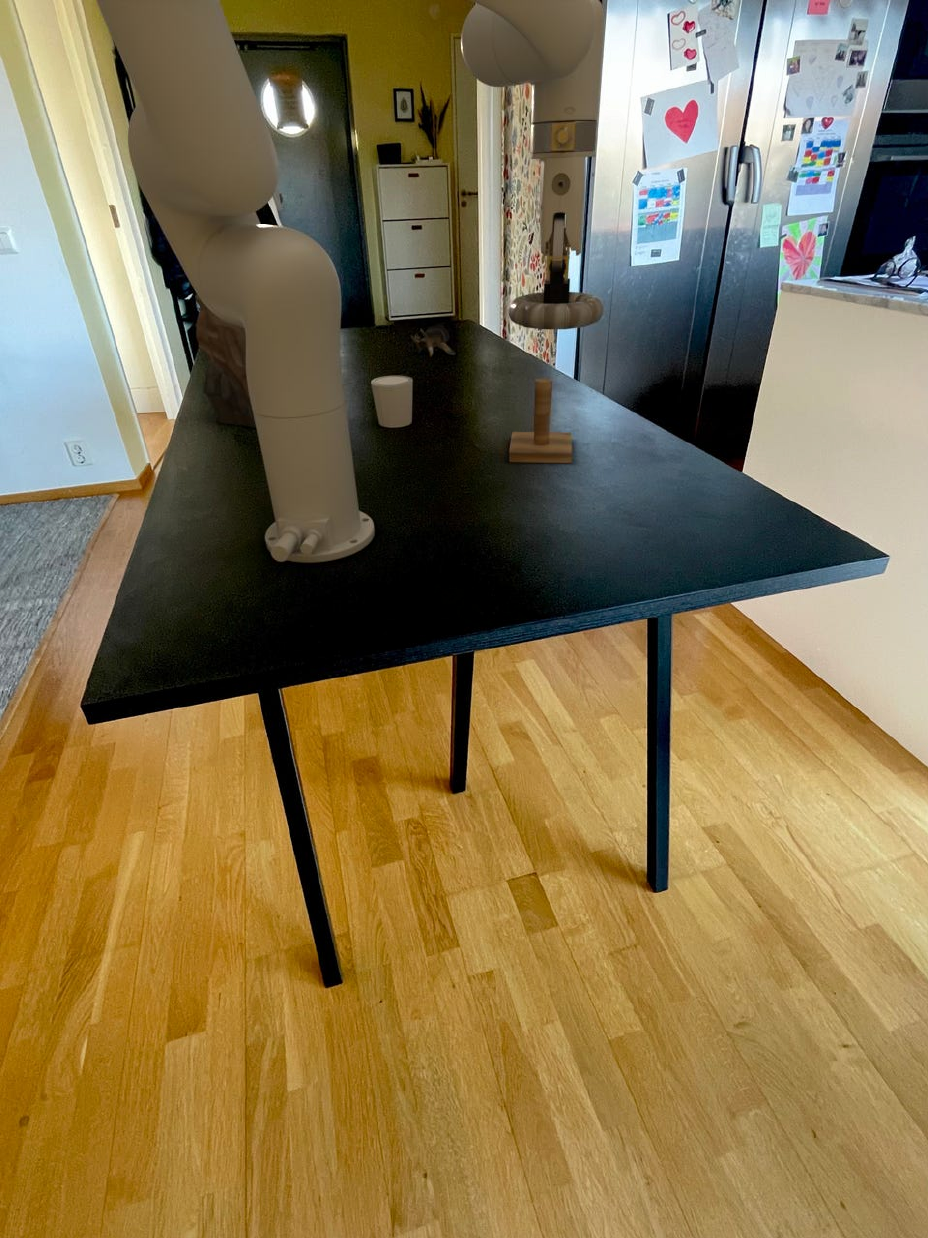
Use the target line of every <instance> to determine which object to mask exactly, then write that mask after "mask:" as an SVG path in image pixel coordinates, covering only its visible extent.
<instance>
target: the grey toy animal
mask: <svg viewBox="0 0 928 1238" xmlns="http://www.w3.org/2000/svg"><path fill="white" fill-rule="evenodd" d="M420 333H421V334H422V336H423V337H422V338H421V337H420V336H419V335H418V333H415V334H414V335H410V339H411V340H412V341H413V342H414V344H415V346H416V347H417V352H418V354H420V353H421V351H422V350H423V349H424V348H427V349H428V352H429V357H432V356H433V355H434V348H439V349H440V350H442V351H444V352H445V353H446V354H447V355H451V356H454V355H456V352H455V351H454V350H452V348H451V347H450V346H448V345H447V344H446V343H448V341H449V339H450V335H449V331H448V330H447V329H446V328H445V327H444V326H443V325H441V324H437V325H433V326H429V327H428V328H427V329H426V330H425V331H424V330H423V328H420ZM413 336H414V337H413ZM421 343H423V344H422V345H421Z"/></svg>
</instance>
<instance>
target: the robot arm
mask: <svg viewBox="0 0 928 1238" xmlns="http://www.w3.org/2000/svg"><path fill="white" fill-rule="evenodd" d="M468 1H469V2H472V3H475V5H474V6H473V7H472V8H471V9H470V11H469V12H468V14H467V16H466V17H465V20H464V23H463V26H462V30H461V38H460V45H461V52H462V57H463V60H464V63H465V66H466V68H467V69H468V70H469V72H470V73H471V75H472V76H473V77H474V78H475V79H476V80H477V81H479V82H480V83H482V84H484V85H486V86H489V87H493V88H507V87H508V88H509V87H513V86H514V87H515V86H521V85H524V84H530V85H531V119H530V120H531V121H530V122H531V123H530V124H531V125H530V158H529V159H530V160H540V170H539V171H540V173H539V174H540V175H539V234H540V236H539V237H540V246H541V247H540V249H541V250H540V252H541V254H542V255H543V256H544V257H546V259H545V260H546V267H545V268H546V271H545V279H544V282H545V283H543V292H544V302H543V304H566V303H569V292H571V291H570V289H571V278H569V272H570V271H569V270H570V268H569V267H570V255H571V252H575V256H577V257H578V256H580V255H581V253H582V252H583V251H582V250H583V249H582V248H583V238H584V237H583V234H584V218H585V203H586V185H587V184H586V183H587V182H586V180H587V176H586V175H587V162H586V161H587V159H586V158H595V157H596V150H597V137H598V119H599V103H600V90H601V89H600V88H601V77H602V76H601V75H602V60H603V59H602V58H603V44H604V32H605V31H604V30H605V11H604V7H603V4H602V1H600V0H468ZM95 2H96V3H97V6H98V8H99V12H100V14H101V16H102V18H103V20H104V23H105V25H106V27H107V29H108V32H109V35H110V36H111V39H112V41H113V43H114V45H115V47H116V49H117V52H118V54H119V56H120V59H121V61H122V63H123V65H124V69H125V71H126V73H127V75H128V77H129V80H130V82H131V84H132V86H133V88H134V90H135V92H136V94H137V97H138V99H139V102H138V103H137V105H136V106H135V108H134V109H133V111H132V113H131V116H130V119H129V122H128V129H127V147H128V154H129V158H130V163H131V165H132V168H133V172H134V175H135V178H136V181H137V182H138V185H139V187H140V189H141V192H142V193H143V196H144V197H145V199H146V202H147V203H148V205H149V207H150V209H151V211H152V213H153V215H154V217H155V219H156V221H157V222H158V225H159V226H160V229H161V231H162V232H163V234H164V236H165V238H166V240H167V242H168V243H169V245H170V247H171V249H172V251H173V253H174V255H175V256H176V259H177V260H178V262H179V265H180V266H181V267H182V270H183V271H184V274H185V275H186V277H187V279H188V281H189V283H190V285H191V286H192V288H193V289H194V291H195V293H196V295H197V294H198V296H199V297H200V299H201V300H202V301H203V303H204V304H205V305H206V306H207V307H208V308H209V309H210V310H211V311H212V312H213V313H214V314H215V315H216V316H218V317H219V318H221V319H222V320H224V321H226V322H228V323H231V324H233V325H236V326H239V327H242V328H245V333H246V375H247V383H248V390H249V395H250V400H251V405H252V410H253V413H254V418H255V423H256V433H257V438H258V442H259V447H260V453H261V457H262V461H263V467H264V471H265V476H266V482H267V486H268V492H269V497H270V501H271V505H272V511H273V516H274V522H273V523H272V524H271V525H270V526H269V527H268V528H267V529H266V530H265V534H264V541H265V546H266V548H267V550H268V551H269V553H270V555H271V557H272V558H273V559H274V560H275V561H277V562H280V563H283V562H286V561H288V562H293V563H304V564H312V563H313V564H315V563H325V562H326V563H327V562H331V561H335V560H339V559H343V558H346V557H349V556H351V555H354V554H357V553H358V552H360V551H362V550H363V549H364V548H366V547H367V546H369V544H370V543H371V542H372V541H373V539H374V537H375V535H376V534H375V532H376V529H375V523H374V520H373V519H372V517H370V516H369V515H368V514H367V513H365V512H363V511H361V510H360V509H359V508H360V507H359V501H358V492H357V484H356V476H355V468H354V460H353V453H352V445H351V444H352V443H351V436H350V429H349V427H350V426H349V419H348V412H347V411H348V410H347V405H346V404H347V403H346V398H345V390H344V380H343V373H342V371H343V370H342V360H341V325H342V320H341V319H342V290H341V283H340V278H339V275H338V271H337V269H336V267H335V264H334V262H333V260H332V259H331V257H330V256H329V254H328V252H326V250H325V248H323V247H322V246H321V245H320V244H319V242H318V241H316V240H315V239H314V238H312V237H311V236H309V235H308V234H306V233H304V232H302V231H300V230H297V229H295V228H292V227H289V226H283V225H273V224H261V222H260V219H259V217H258V215H257V211H259V210H260V209H262V208H263V207H265V206H266V205H267V204H268V203H269V202H270V200H271V199H272V198H273V197H274V195H275V192H276V190H277V187H278V183H279V176H280V168H279V167H280V166H279V157H278V154H277V150H276V147H275V144H274V141H273V138H272V135H271V132H270V130H269V127H268V125H267V122H266V119H265V117H264V114H263V112H262V110H261V107H260V104H259V102H258V99H257V97H256V94H255V92H254V91H255V90H254V89H253V87H252V84H251V81H250V78H249V76H248V74H247V71H246V68H245V65H244V63H243V61H242V59H241V56H240V53H239V51H238V48H237V45H236V43H235V40H234V38H233V35H232V33H231V30H230V27H229V24H228V21H227V17H226V15H225V12H224V10H223V6H222V4H221V0H95Z"/></svg>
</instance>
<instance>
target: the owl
mask: <svg viewBox="0 0 928 1238" xmlns="http://www.w3.org/2000/svg"><path fill="white" fill-rule="evenodd" d="M194 298H195V301H196V303H197V305H198V306H199V312H198V317H197V320H196V323H195V329H196V330H195V333H196V334H195V335H196V340H197V343H198V349H199V350H200V351H201V352H202V353H203V354H204V356H205V357H206V359H207V363H206V368H205V370H204V372H203V373H204V375H205V377H204V378H205V379H204V383H203V394H204V395H205V396H206V397H207V399H208V401H209V403H210V404H211V407H212V409H213V410H214V413H215V414H216V415H217V419H218V422H219V423H221V424H228V425H234V426H245V427H249V428H254V429H255V428H256V423H255V418H254V413H253V410H252V405H251V400H250V395H249V390H248V383H247V375H246V333H245V328H242V327H239V326H236V325H233V324H231V323H228V322H226V321H224V320H222V319H221V318H219V317H218V316H216V315H215V314H214V313H213V312H212V311H211V310H210V309H209V308H208V307H207V306H206V305H205V304H204V303H203V301H202V300H201V299H200V297H199V296H198V294H197V293H196V294H195V297H194ZM256 429H257V428H256Z"/></svg>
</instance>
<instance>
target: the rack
mask: <svg viewBox="0 0 928 1238" xmlns="http://www.w3.org/2000/svg"><path fill="white" fill-rule="evenodd" d="M552 392H553V379H552V378H549V377H539V378H536V379H535V380H534V402H533V403H534V404H533V405H534V406H533V431H512V434H511V440H510V444H509V445H510V446H509V452H508V462H509V463H538V464H539V463H540V464H541V463H545V464H572V463H573V460H572V459H573V445H572V432H555V431H554V432H551V416H552V415H551V414H552V413H551V412H552V397H553V396H552V394H553V393H552Z"/></svg>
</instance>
